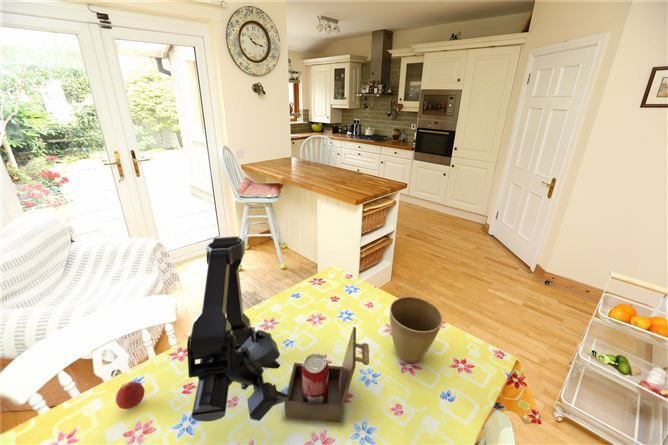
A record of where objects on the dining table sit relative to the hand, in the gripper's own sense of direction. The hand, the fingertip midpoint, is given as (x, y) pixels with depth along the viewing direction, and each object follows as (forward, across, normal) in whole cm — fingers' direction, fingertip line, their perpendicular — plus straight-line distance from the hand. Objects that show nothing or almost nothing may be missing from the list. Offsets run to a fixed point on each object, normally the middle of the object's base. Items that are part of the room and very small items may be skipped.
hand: (283, 381), depth 70 cm
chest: (+13, 0, +1) cm, 13 cm away
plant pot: (+35, +2, -21) cm, 41 cm away
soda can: (+12, 0, +1) cm, 12 cm away
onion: (-18, +16, +32) cm, 40 cm away
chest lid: (+8, -4, -13) cm, 16 cm away
